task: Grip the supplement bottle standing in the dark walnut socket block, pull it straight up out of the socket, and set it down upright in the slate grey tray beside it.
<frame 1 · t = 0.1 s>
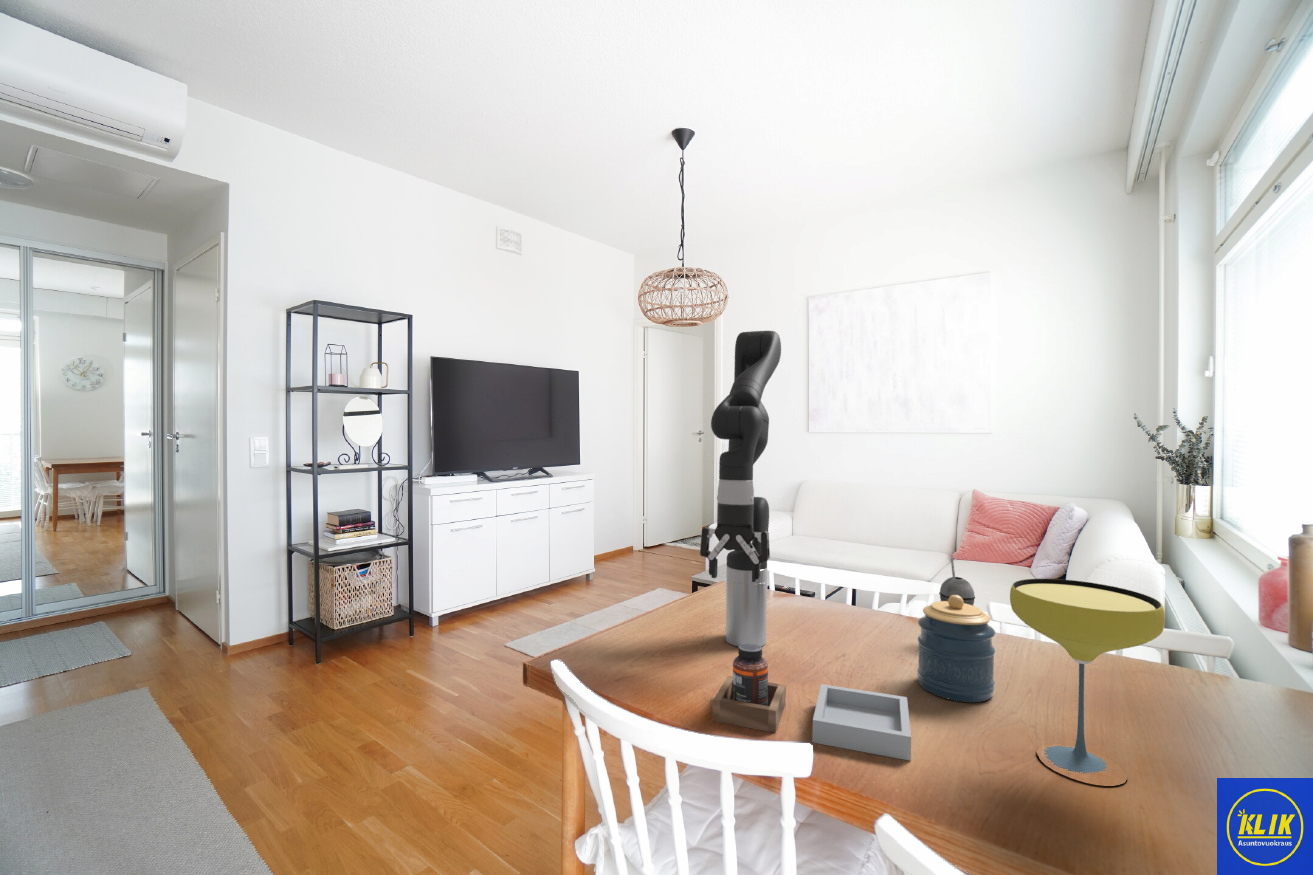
hand: (734, 579, 123), 17 cm above the table, tool pointing down, fingers open, 8 cm apart
tray: (861, 729, 95), on the table
cocktail glass: (1080, 766, 86), on the table
supplement bottle: (750, 713, 101), resting in socket block
canister: (954, 689, 111), on the table
beverage cup: (956, 646, 134), on the table
socket block: (750, 712, 101), on the table
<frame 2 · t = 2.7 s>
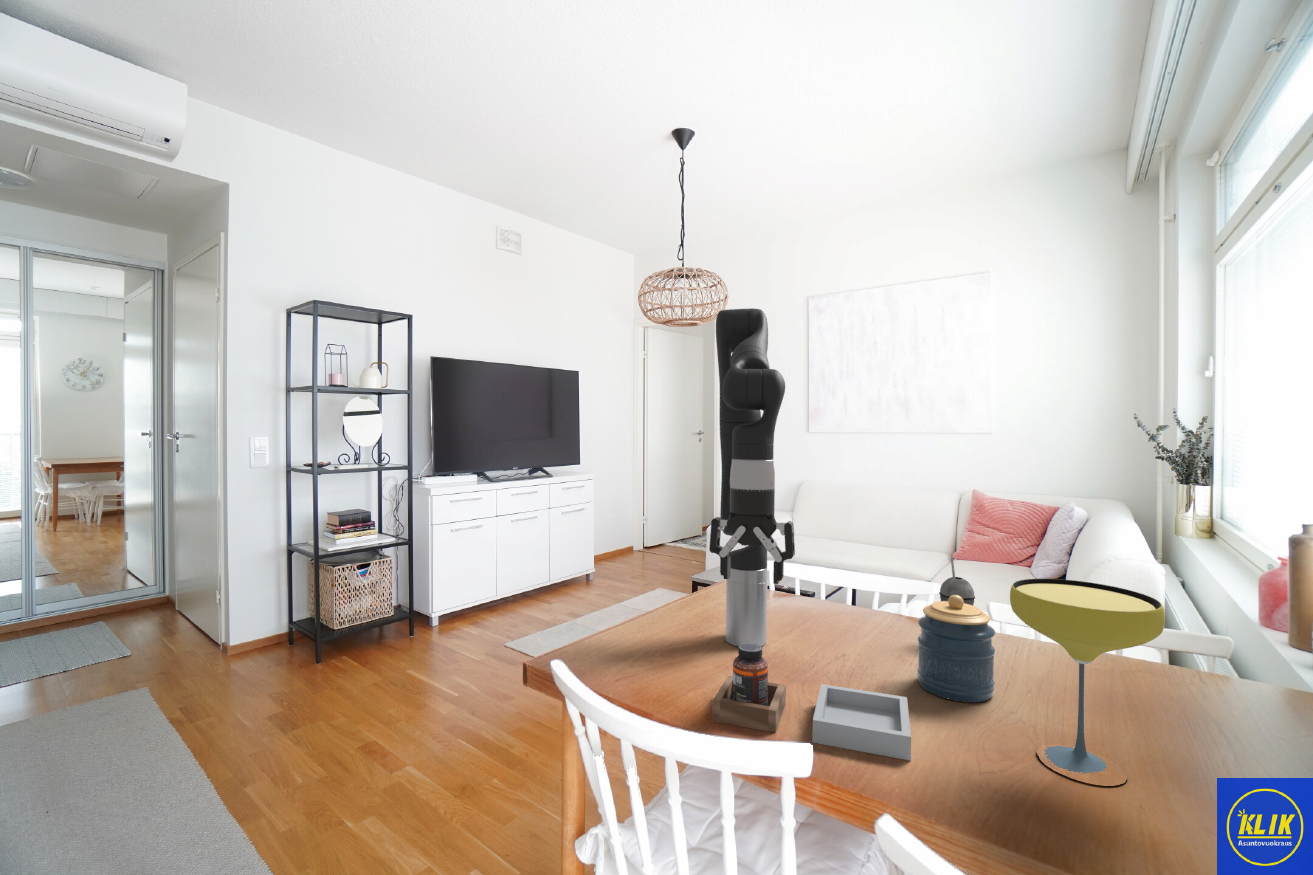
hand: (751, 580, 101), 23 cm above the table, tool pointing down, fingers open, 8 cm apart
nothing on the table moved.
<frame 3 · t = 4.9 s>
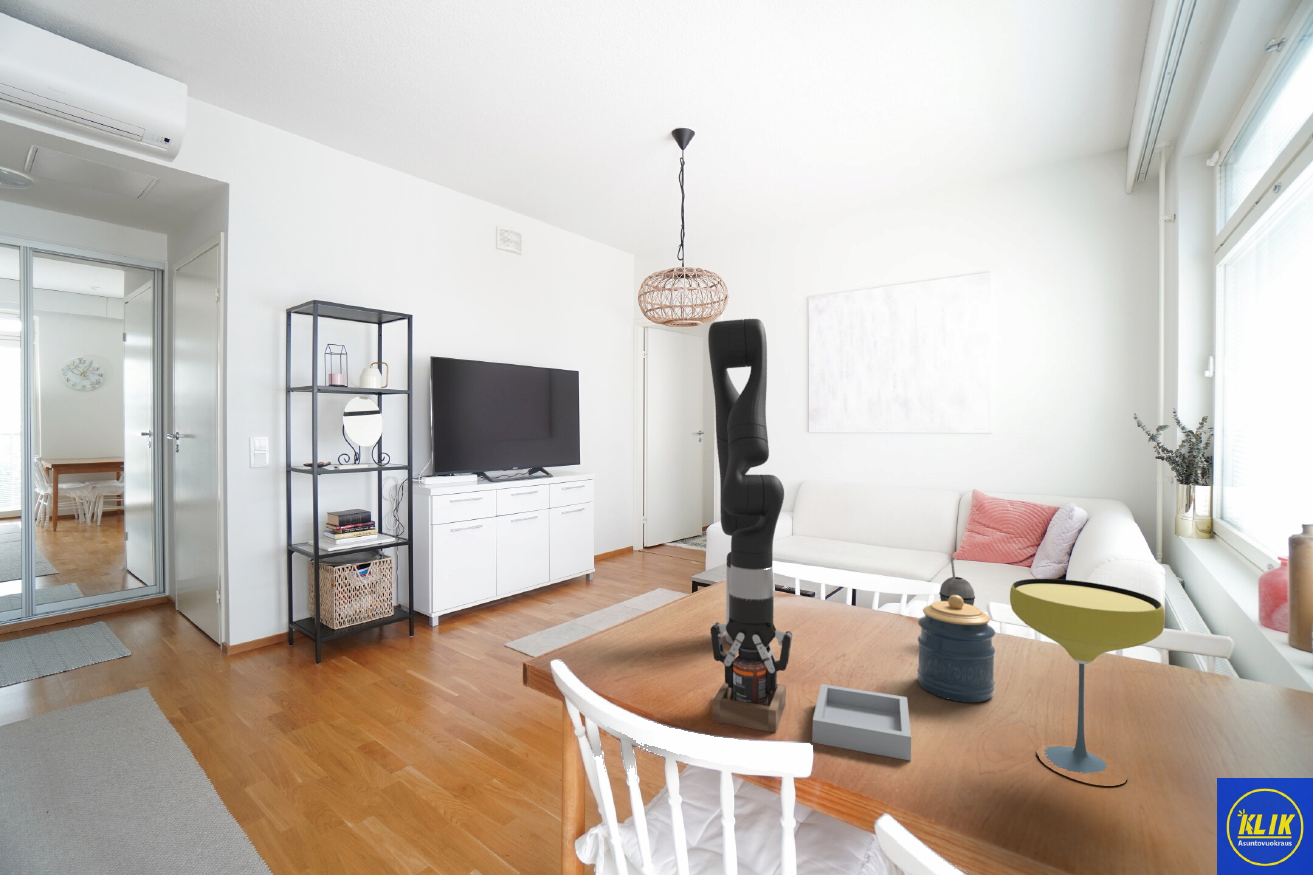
hand: (750, 688, 101), 4 cm above the table, tool pointing down, fingers closed on supplement bottle, 6 cm apart
supplement bottle: (750, 713, 101), resting in socket block, touching gripper
everything else where it was.
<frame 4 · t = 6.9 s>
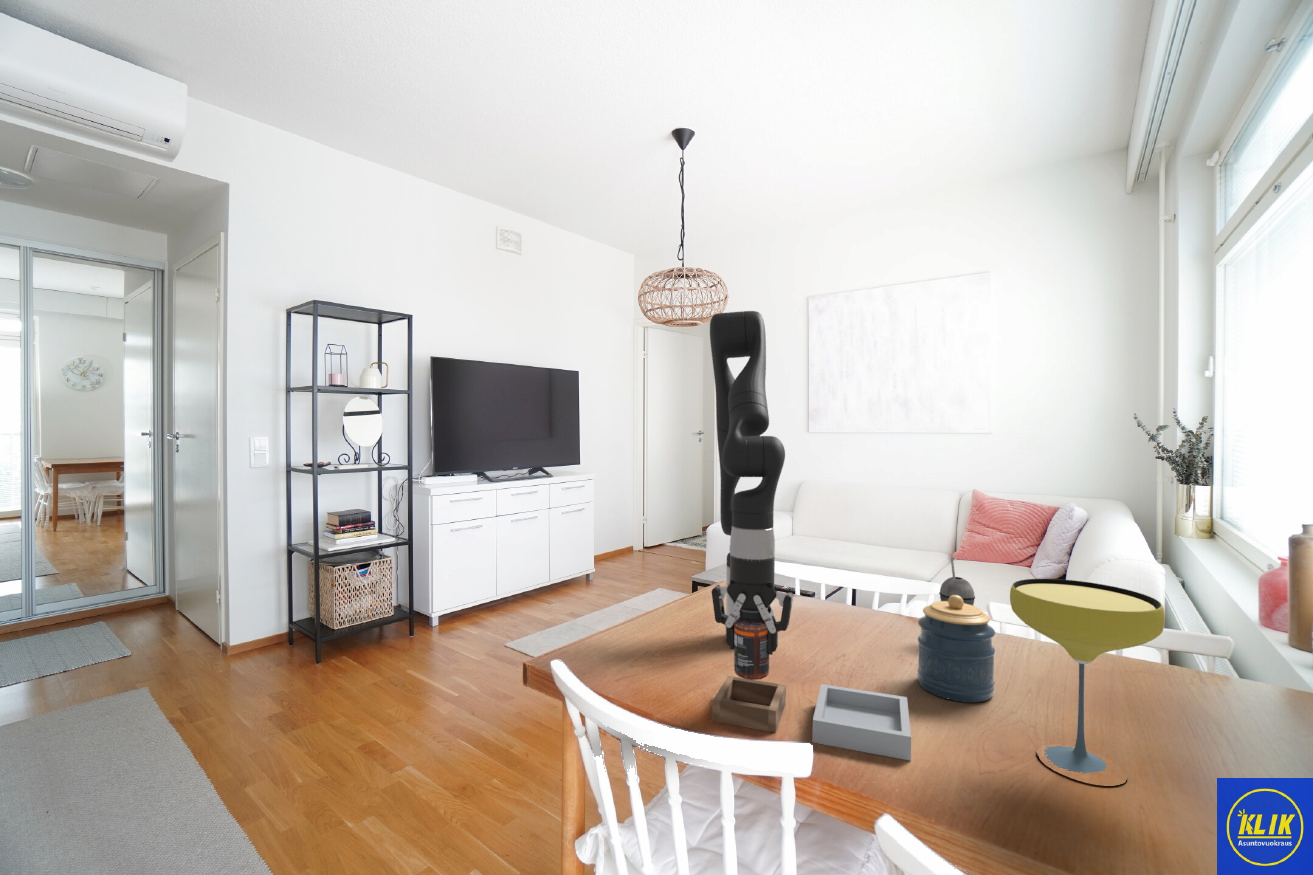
hand: (751, 649, 101), 11 cm above the table, tool pointing down, fingers closed on supplement bottle, 6 cm apart
supplement bottle: (751, 674, 101), point 6 cm above the table, touching gripper
everything else where it was.
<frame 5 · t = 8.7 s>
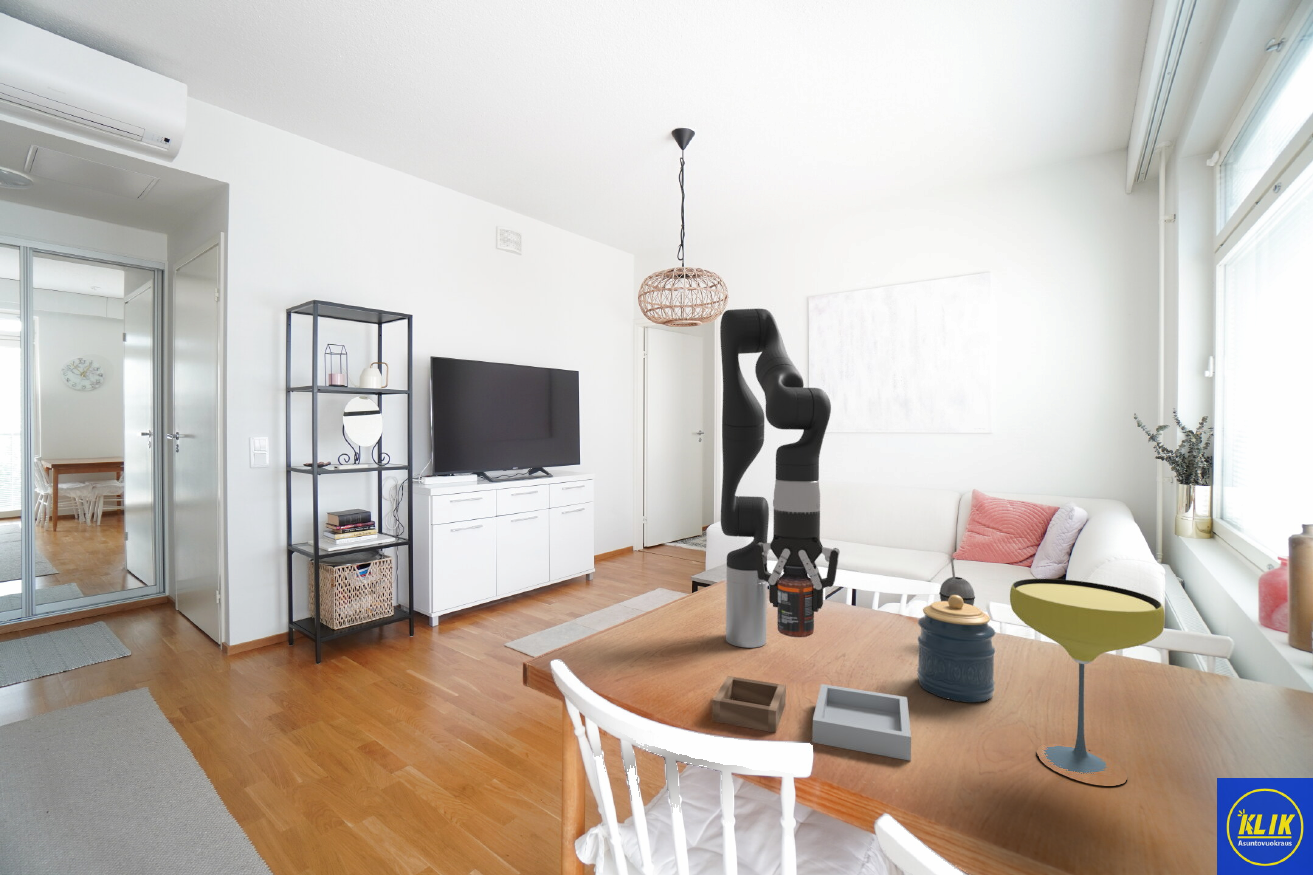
hand: (795, 607, 98), 19 cm above the table, tool pointing down, fingers closed on supplement bottle, 6 cm apart
supplement bottle: (795, 633, 98), point 14 cm above the table, touching gripper
everything else where it was.
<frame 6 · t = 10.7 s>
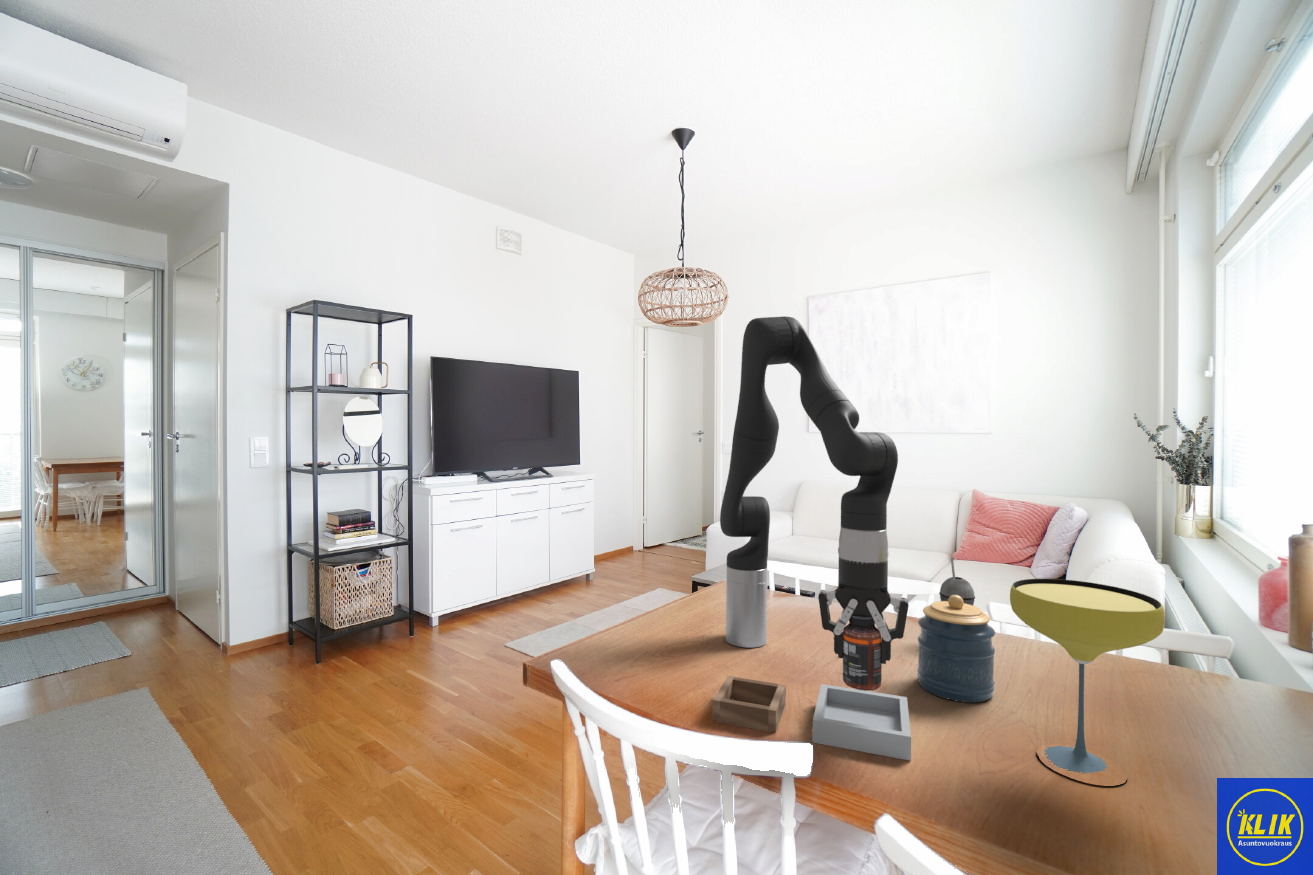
hand: (861, 658, 95), 11 cm above the table, tool pointing down, fingers closed on supplement bottle, 6 cm apart
supplement bottle: (861, 685, 95), point 7 cm above the table, touching gripper
everything else where it was.
when the fingers open (6 cm above the table, at t = 12.5 s): supplement bottle drops 1 cm, resting on tray.
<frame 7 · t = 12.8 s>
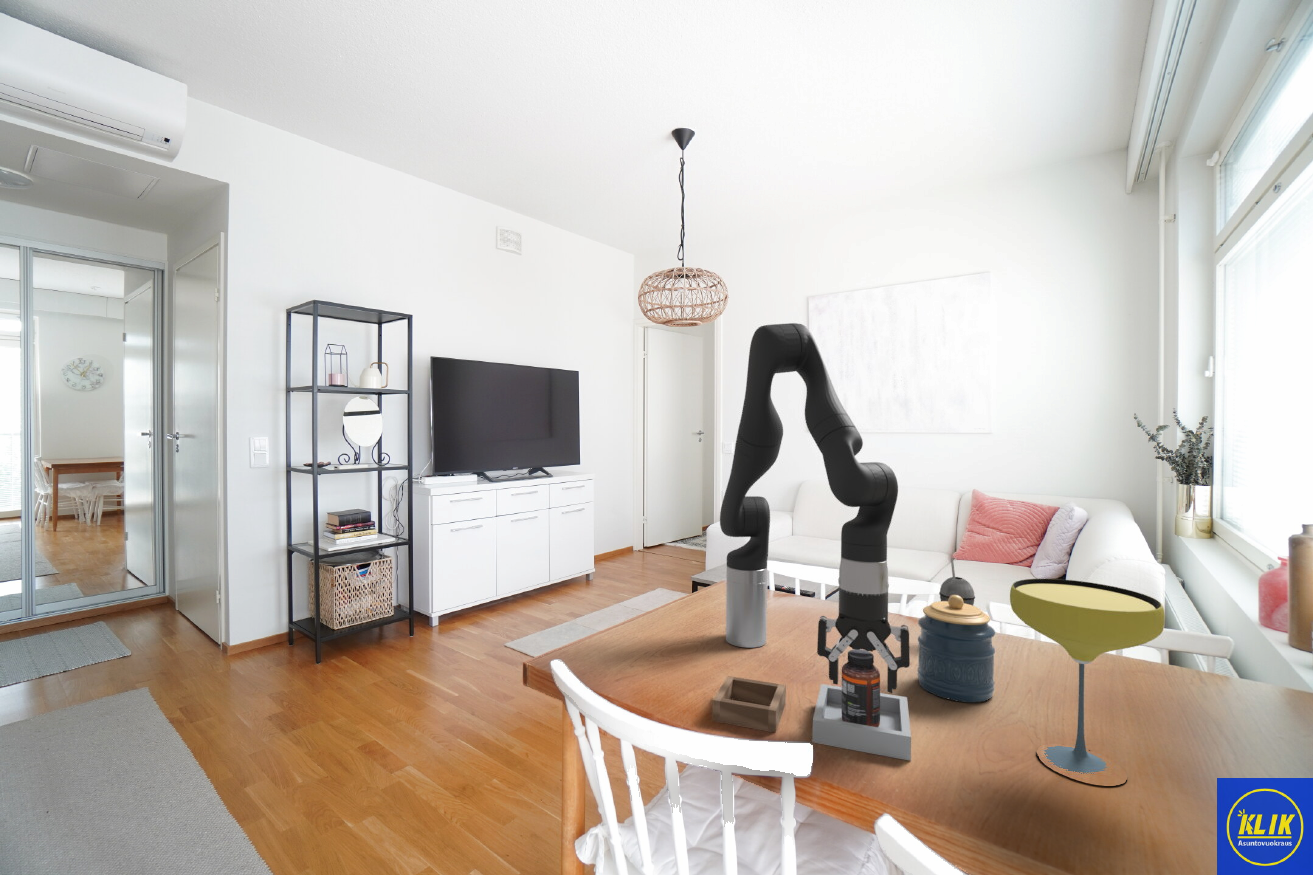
hand: (862, 686, 95), 7 cm above the table, tool pointing down, fingers open, 8 cm apart
supplement bottle: (860, 724, 95), point 1 cm above the table, touching tray
everything else where it was.
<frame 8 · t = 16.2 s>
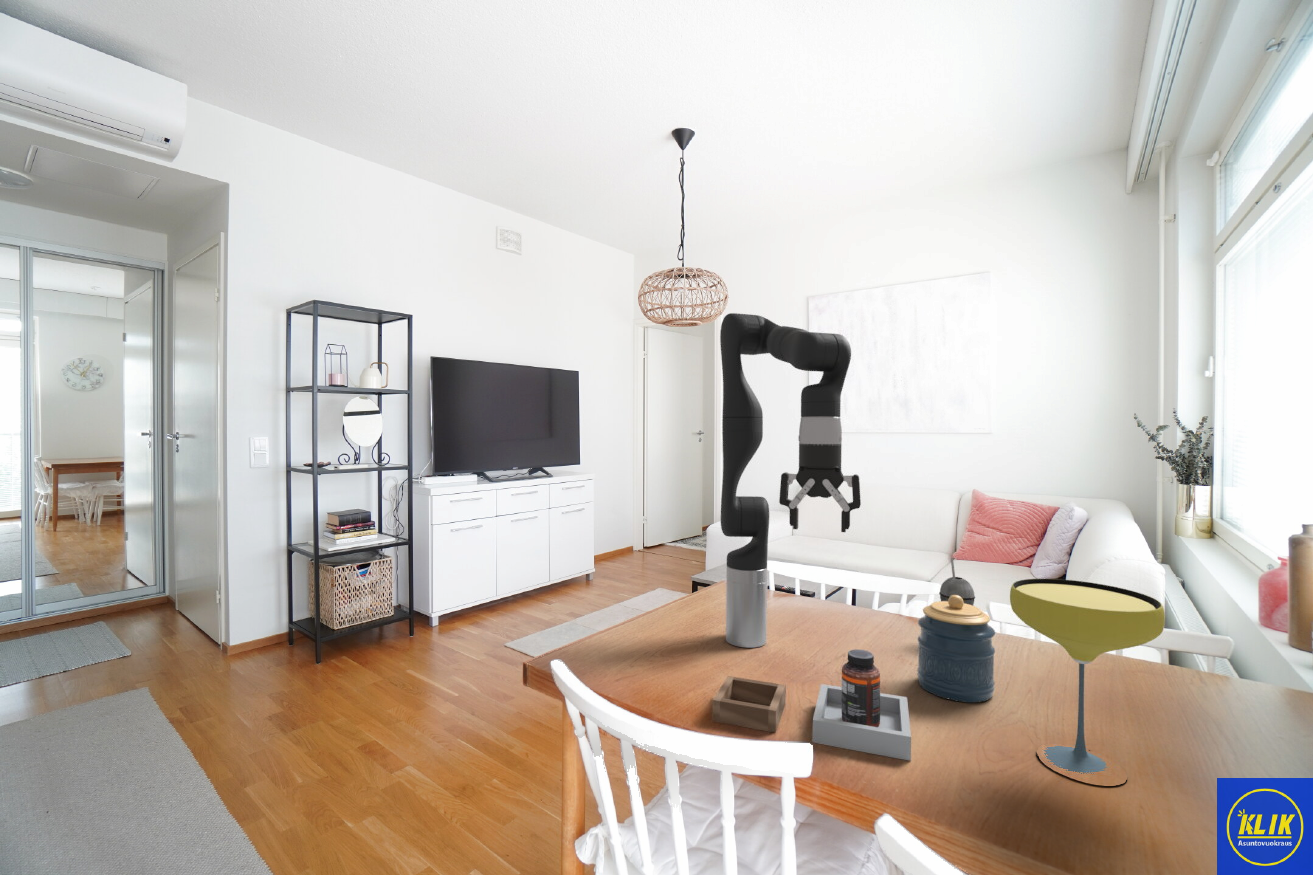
hand: (819, 530, 108), 30 cm above the table, tool pointing down, fingers open, 8 cm apart
nothing on the table moved.
at the end: supplement bottle inside the target area on the tray (0.2 cm from its centre), point 0.8 cm above the tray's base; supplement bottle tilted 0°; the gripper is holding nothing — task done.
